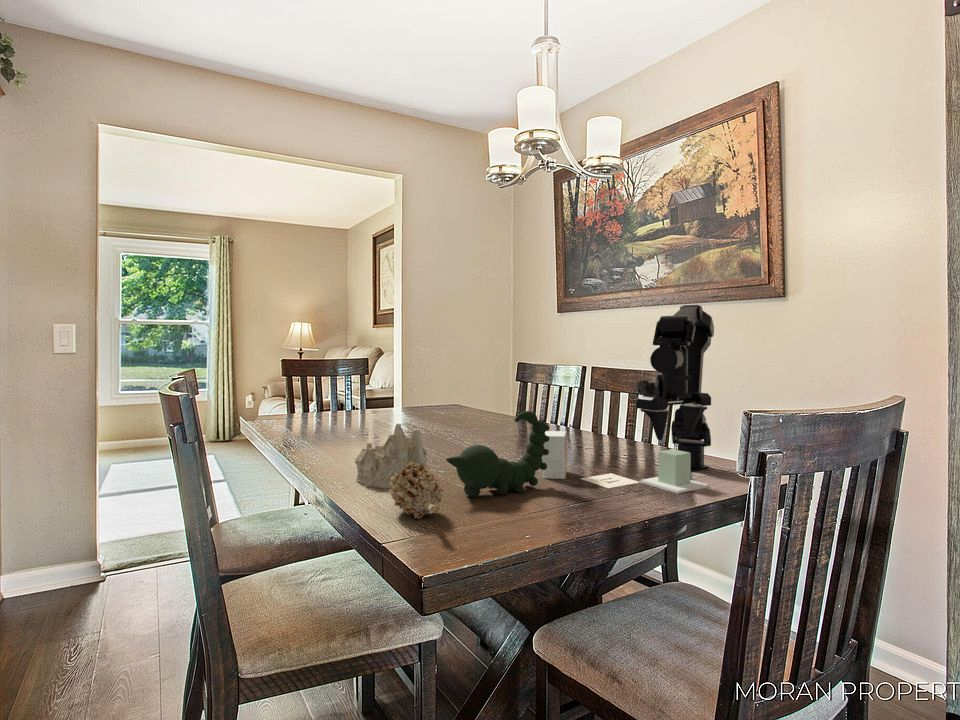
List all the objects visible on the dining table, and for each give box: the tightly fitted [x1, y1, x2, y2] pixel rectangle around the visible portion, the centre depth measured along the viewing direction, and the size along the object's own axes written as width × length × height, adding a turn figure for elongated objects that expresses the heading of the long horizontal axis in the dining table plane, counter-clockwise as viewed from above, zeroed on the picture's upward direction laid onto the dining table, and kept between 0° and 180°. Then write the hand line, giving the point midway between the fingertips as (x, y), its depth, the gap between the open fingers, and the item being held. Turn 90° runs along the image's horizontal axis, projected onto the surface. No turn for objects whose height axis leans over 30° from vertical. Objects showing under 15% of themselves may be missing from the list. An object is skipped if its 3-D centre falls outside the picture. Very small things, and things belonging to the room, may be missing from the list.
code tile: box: [579, 472, 641, 489], centre depth 135 cm, size 10×10×1 cm
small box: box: [542, 430, 568, 480], centre depth 141 cm, size 8×6×10 cm
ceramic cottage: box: [354, 423, 431, 489], centre depth 138 cm, size 16×16×15 cm
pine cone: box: [387, 461, 444, 520], centre depth 107 cm, size 22×10×10 cm, turn 27°
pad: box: [640, 476, 709, 494], centre depth 131 cm, size 10×11×1 cm
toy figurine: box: [445, 410, 550, 499], centre depth 125 cm, size 9×19×25 cm
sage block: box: [657, 448, 691, 486], centre depth 131 cm, size 5×5×7 cm
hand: (673, 438), depth 130 cm, fingers open, 9 cm apart
